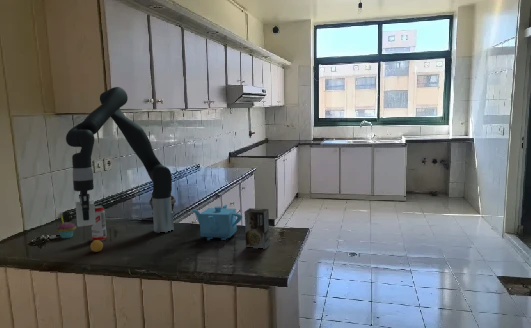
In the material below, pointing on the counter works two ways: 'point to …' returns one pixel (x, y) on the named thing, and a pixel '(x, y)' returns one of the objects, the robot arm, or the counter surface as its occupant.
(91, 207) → the grey rectangular block
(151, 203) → the flowerpot
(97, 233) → the beer can
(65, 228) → the cupcake
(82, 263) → the counter surface
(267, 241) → the coffee box
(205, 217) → the teakettle
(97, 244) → the ball
